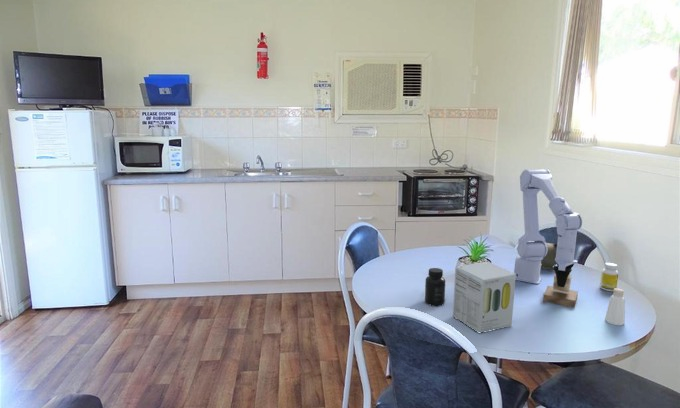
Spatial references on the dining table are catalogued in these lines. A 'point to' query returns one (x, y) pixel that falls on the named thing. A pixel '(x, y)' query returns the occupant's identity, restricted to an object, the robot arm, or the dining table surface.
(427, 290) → the supplement bottle
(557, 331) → the dining table surface
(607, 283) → the supplement bottle
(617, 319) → the salt shaker
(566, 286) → the maple block
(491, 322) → the supplement box
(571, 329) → the dining table surface
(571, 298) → the walnut block
